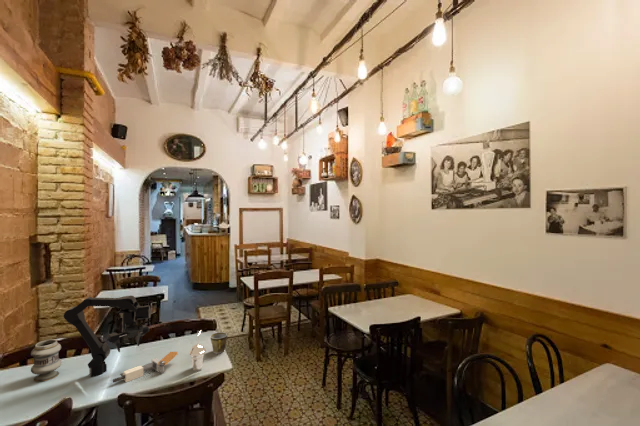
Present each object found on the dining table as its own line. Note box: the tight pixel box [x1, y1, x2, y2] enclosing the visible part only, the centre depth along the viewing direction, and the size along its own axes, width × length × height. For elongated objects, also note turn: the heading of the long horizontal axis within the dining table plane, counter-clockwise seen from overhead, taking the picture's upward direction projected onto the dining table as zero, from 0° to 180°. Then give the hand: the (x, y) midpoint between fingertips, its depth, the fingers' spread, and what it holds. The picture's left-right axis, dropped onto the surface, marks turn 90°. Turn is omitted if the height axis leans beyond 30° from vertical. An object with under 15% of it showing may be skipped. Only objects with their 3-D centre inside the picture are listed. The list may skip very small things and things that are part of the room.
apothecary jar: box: [30, 339, 63, 383], centre depth 159 cm, size 12×12×18 cm
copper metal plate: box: [158, 351, 178, 367], centre depth 166 cm, size 4×13×2 cm, turn 177°
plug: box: [112, 365, 144, 384], centre depth 154 cm, size 13×4×4 cm, turn 141°
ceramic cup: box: [209, 331, 228, 355], centre depth 186 cm, size 13×10×10 cm
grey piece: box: [119, 357, 166, 384], centre depth 160 cm, size 16×18×5 cm
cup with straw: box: [188, 329, 207, 373], centre depth 166 cm, size 8×9×20 cm
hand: (128, 348), depth 164 cm, fingers open, 9 cm apart
